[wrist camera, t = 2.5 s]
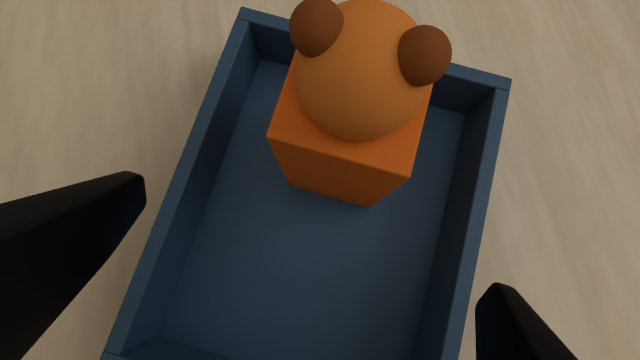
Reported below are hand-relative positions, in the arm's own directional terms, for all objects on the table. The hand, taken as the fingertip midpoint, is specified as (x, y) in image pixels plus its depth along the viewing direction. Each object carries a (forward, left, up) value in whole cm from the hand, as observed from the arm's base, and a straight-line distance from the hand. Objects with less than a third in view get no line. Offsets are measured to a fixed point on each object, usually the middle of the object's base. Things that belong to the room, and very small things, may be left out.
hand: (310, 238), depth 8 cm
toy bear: (+5, +3, -11) cm, 13 cm away
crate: (+1, +1, -12) cm, 12 cm away
